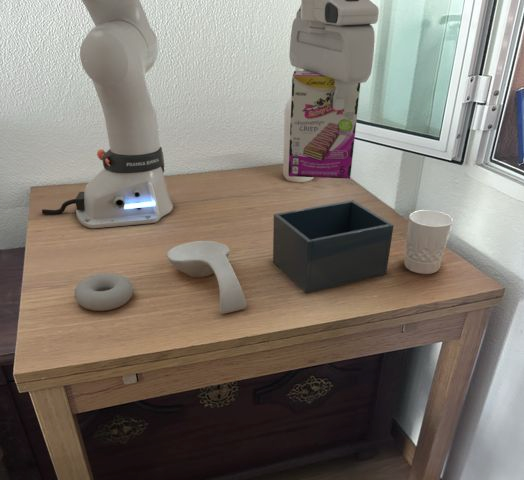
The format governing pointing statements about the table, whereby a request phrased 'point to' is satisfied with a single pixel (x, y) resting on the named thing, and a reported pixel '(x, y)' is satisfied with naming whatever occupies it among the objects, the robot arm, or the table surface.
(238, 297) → the spoon rest
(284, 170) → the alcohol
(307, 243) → the holder
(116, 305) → the donut
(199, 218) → the table surface
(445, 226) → the white cup
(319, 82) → the candy bar box
